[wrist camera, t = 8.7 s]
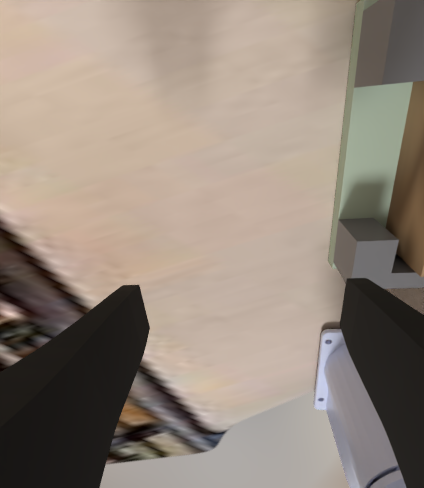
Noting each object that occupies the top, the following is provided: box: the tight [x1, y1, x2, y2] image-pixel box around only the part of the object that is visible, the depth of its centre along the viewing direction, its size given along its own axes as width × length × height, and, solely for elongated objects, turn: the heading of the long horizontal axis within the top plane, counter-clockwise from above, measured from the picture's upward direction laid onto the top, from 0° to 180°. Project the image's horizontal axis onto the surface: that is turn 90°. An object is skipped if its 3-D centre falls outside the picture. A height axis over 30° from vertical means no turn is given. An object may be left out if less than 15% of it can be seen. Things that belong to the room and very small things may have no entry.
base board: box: [328, 0, 413, 269], centre depth 16 cm, size 14×8×1 cm, turn 5°
